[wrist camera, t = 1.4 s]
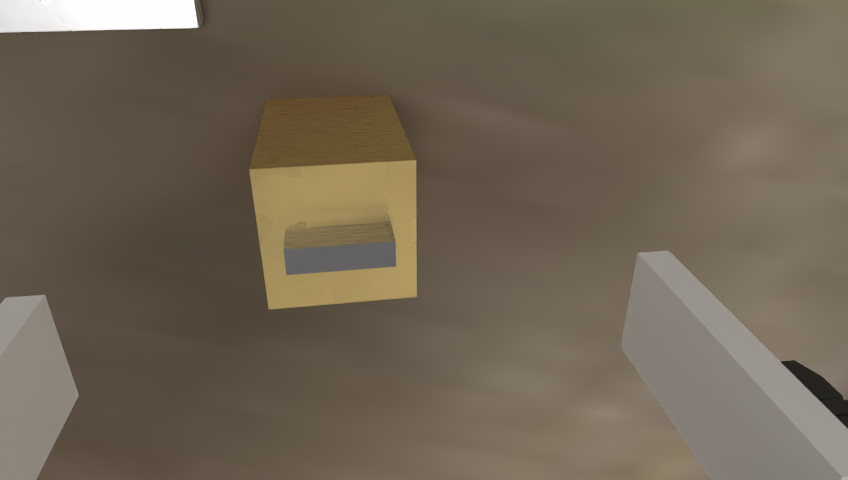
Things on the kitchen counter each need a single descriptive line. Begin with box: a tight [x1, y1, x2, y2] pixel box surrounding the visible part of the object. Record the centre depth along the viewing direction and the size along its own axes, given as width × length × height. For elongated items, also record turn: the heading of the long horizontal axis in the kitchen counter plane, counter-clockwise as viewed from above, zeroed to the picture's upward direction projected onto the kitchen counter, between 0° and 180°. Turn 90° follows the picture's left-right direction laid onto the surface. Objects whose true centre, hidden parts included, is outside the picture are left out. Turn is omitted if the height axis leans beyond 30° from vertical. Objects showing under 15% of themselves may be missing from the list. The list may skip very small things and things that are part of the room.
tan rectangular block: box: [249, 95, 417, 309], centre depth 21 cm, size 4×4×8 cm
